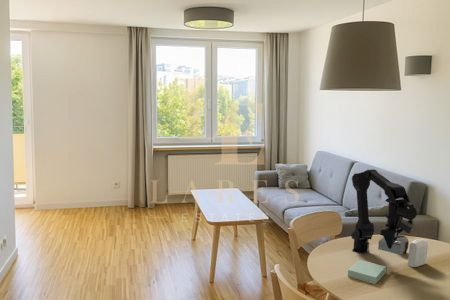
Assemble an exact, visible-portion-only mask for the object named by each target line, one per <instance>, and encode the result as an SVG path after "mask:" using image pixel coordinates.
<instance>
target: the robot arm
mask: <svg viewBox="0 0 450 300" xmlns="http://www.w3.org/2000/svg"><path fill="white" fill-rule="evenodd" d="M351 182H352V186H353V188H354V189H355V191H356V202H357V204H356V205H357V217H358V220H357V222H356V224H355V230H354V231H352V233H351V234H350V236H351V239H352V240H353V248H352V249H351V250H352V252H356V253H360V254H366V253H367V252H368V251H369V250H370V242H369V240H372V237H373V236H374V233H375V228H374V226H375V225H374V223H373V222H371V221H370V218H369V217H370V215H369V203H368V201H369V199H368V190H369V188H370V184H371V182H372V183H374V184H376V185H377V186H378V187H379V188H381V190H383V191H384V194H385V196H386V197H387V198H386V199H385V202H387V203H388V204H387V205H388V206H387V207H388V208H387V214H386V215H385V216H386V217H385V218H387V219H386V220H387V221H386V223H385V226H384V227H383V228H382V229H381V230H380V233H379V235H380V236H382V238H383V237H384V239H385V241H386V243H387V246H388V248H389V249H391V247H392V243H393V240H397V238H398V235H399V233H400V234H401V233H402V232H403V231H404V232H405V233H407V234H411V232H412V231H413V229H414V228H415V224H414V219H416V217H417V214H418V211H417V209H416V208H415V206H414V204H413V203H411V201H410V198H409V196H408V193H407V190H406V187H404V186H403V185H401V184H399V183H395V182H392V181H390V179H387V177H385V176H384V175H382V174H381V173H379V172H378V170H376V169H373V168H372V169H366V170H364V171H362V172H357V173H356V172H355V173H354V174H353V175H352V177H351Z"/></svg>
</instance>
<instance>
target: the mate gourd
mask: <svg viewBox="0 0 450 300" xmlns="http://www.w3.org/2000/svg"><path fill="white" fill-rule="evenodd" d="M397 241H400V242H405V251H404V252H403V253H402V254H406V255H407V254H408V253H407V251H408V249H409V246H410V242H409V239H408V237H407V236H405V235H401V232H400V233H399V235H398V238H397Z"/></svg>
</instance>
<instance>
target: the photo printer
mask: <svg viewBox="0 0 450 300" xmlns="http://www.w3.org/2000/svg"><path fill="white" fill-rule="evenodd" d="M408 249H409V251H408V257H407V258H408V260H407V264H408V266H409V267H411V268H417V267H421V266H423V265H426V264H427V262H428V261H427V259H428V250H429V242H428V241H427V240H426V239H424V238H417V239H415V240H412V242H411V243H409V246H408Z"/></svg>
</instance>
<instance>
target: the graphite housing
mask: <svg viewBox="0 0 450 300" xmlns="http://www.w3.org/2000/svg"><path fill="white" fill-rule="evenodd" d="M377 247H378V248H377V249H378V250H380V251H384V252H388V253H392V254H396V255H399V256H401V255H403V254H404V253H403V252H404V251H405V242H400V241H397V240H393V243H392V247H391V249H389V248H388V246H387V243H386V241H385V239H384V237H383V236H382V238H381V239H379V240H378V246H377Z"/></svg>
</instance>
